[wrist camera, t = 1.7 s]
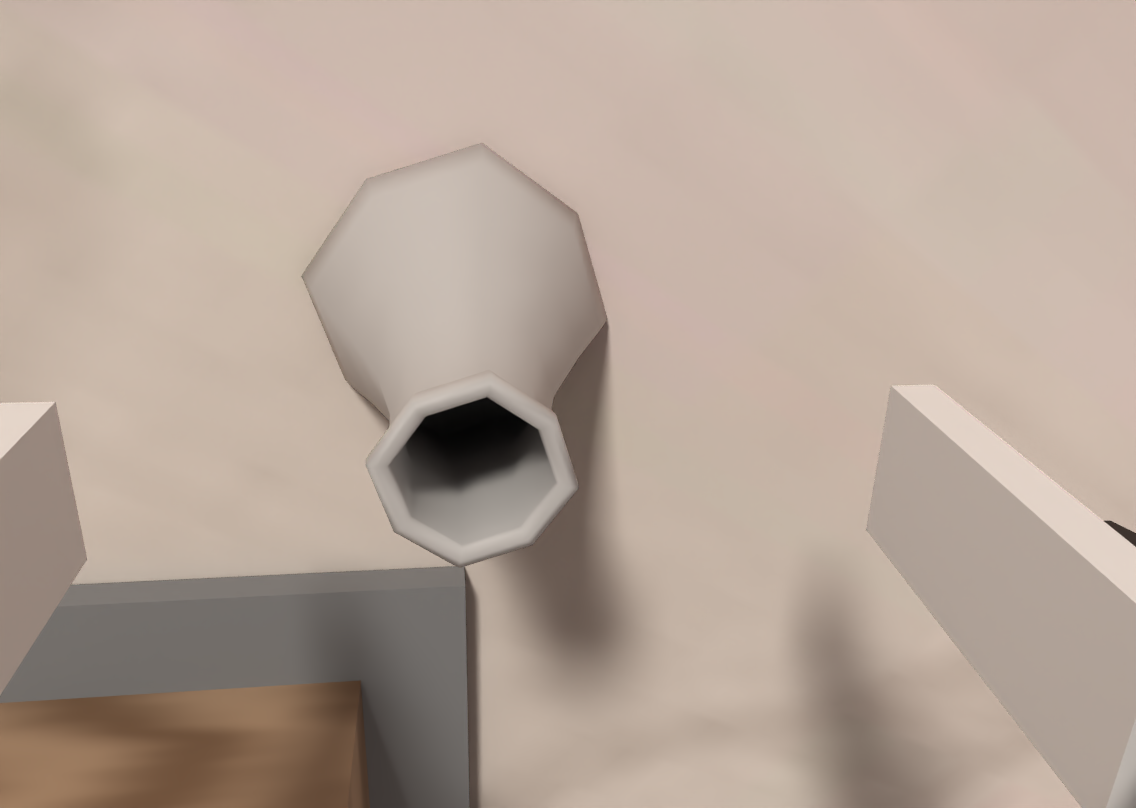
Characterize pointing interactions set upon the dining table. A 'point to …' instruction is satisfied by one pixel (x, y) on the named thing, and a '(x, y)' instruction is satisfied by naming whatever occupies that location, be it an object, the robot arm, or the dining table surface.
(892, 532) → the robot arm
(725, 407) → the dining table surface
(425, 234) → the flask
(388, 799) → the grey mat
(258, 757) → the walnut block
